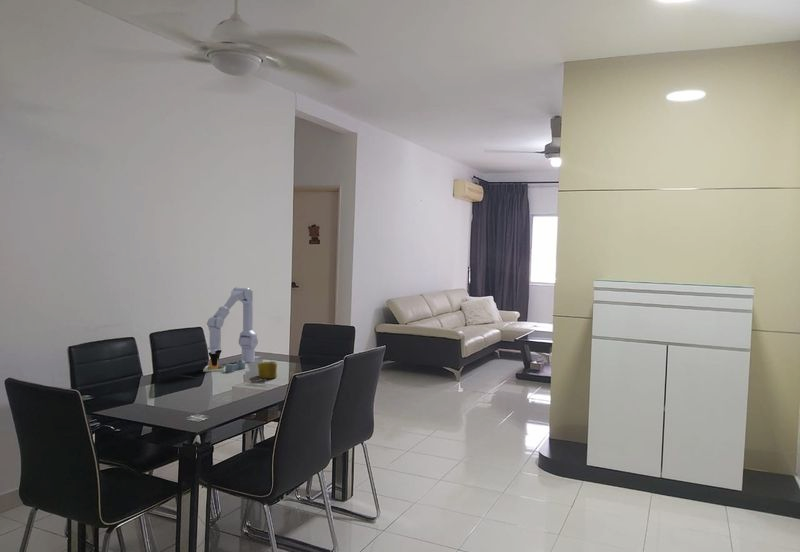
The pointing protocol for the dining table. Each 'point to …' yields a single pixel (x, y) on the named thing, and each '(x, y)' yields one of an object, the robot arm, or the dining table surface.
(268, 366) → the mug
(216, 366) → the block
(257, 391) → the dining table surface
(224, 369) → the tray
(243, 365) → the crank
